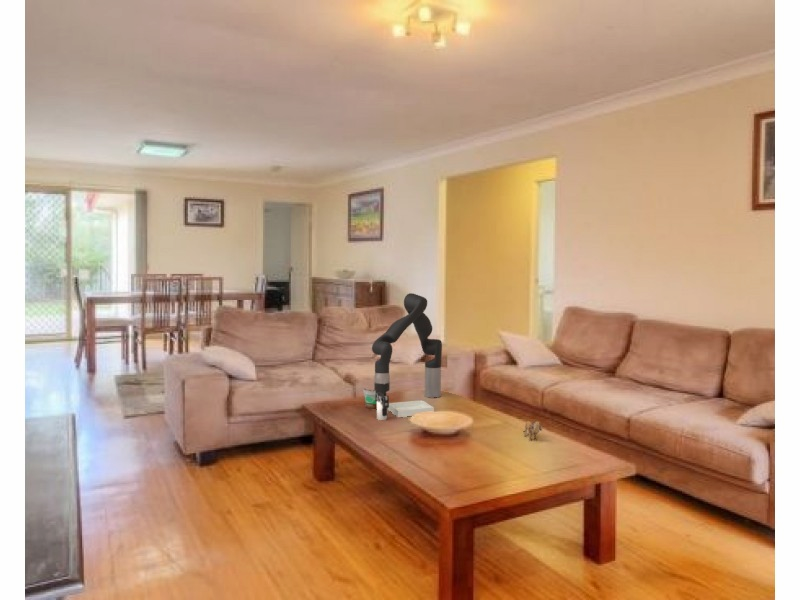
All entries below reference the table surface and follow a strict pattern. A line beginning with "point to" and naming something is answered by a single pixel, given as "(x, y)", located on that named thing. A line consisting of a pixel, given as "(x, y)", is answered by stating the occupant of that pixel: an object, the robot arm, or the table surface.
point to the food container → (370, 399)
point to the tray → (409, 408)
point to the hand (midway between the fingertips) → (381, 413)
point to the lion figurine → (532, 429)
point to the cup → (380, 412)
